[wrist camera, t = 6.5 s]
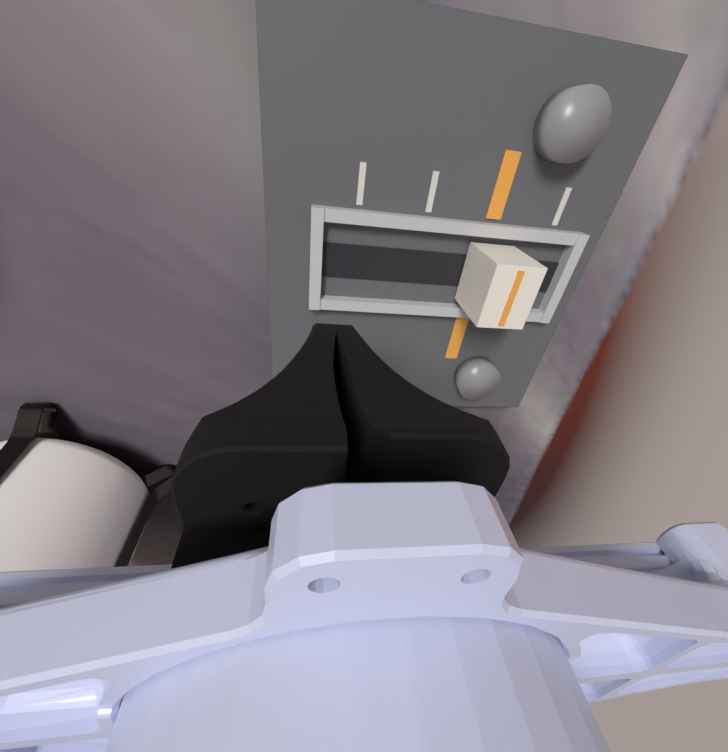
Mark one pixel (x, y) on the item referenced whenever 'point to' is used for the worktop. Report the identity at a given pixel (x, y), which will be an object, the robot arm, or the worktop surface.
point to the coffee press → (68, 499)
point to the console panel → (438, 175)
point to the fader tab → (498, 285)
